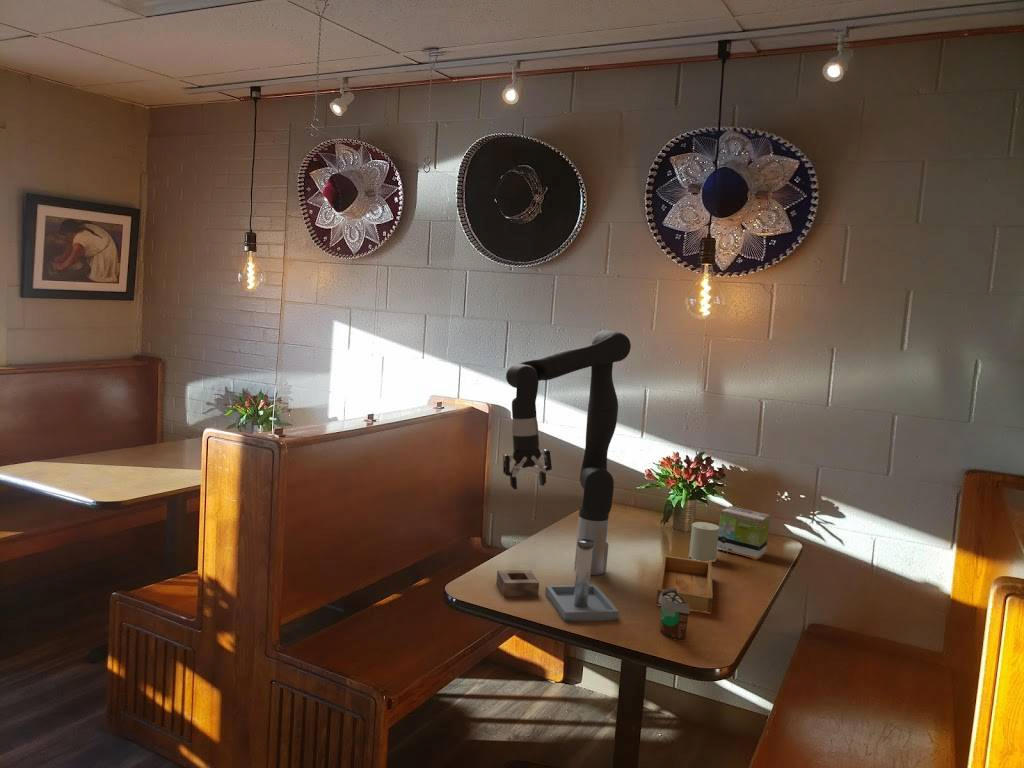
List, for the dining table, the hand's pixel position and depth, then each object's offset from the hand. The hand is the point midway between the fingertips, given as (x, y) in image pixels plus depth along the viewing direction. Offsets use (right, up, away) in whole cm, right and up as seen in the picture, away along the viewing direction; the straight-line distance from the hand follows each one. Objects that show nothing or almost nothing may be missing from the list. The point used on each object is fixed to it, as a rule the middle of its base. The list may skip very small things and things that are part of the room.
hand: (528, 487), depth 232 cm
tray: (+47, -32, +4) cm, 57 cm away
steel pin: (+14, -31, -14) cm, 36 cm away
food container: (+36, -35, -27) cm, 56 cm away
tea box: (+76, -29, +46) cm, 94 cm away
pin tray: (+14, -31, -14) cm, 37 cm away
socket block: (-4, -29, -5) cm, 30 cm away
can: (+60, -29, +36) cm, 76 cm away
